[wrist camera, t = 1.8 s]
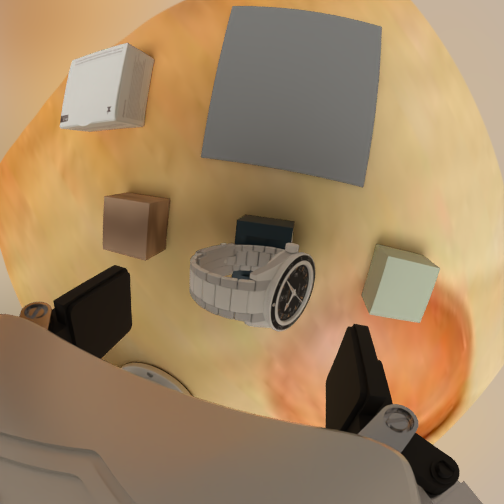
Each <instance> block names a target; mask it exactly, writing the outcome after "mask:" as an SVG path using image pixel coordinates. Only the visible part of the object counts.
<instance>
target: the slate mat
mask: <svg viewBox="0 0 504 504" xmlns="http://www.w3.org/2000/svg"><path fill="white" fill-rule="evenodd" d="M381 32H382V27H380V26H377V25H373V24H369V23H366V22H362V21H358V20H354V19H349V18H345V17H340V16H335V15H330V14H324V13H318V12H312V11H305V10H297V9H287V8H276V7H257V6H233V7H232V10H231V14H230V18H229V22H228V26H227V30H226V34H225V38H224V42H223V46H222V50H221V55H220V59H219V63H218V68H217V73H216V77H215V82H214V87H213V92H212V97H211V102H210V107H209V113H208V118H207V124H206V129H205V135H204V141H203V147H202V153H201V157H202V158H210V159H218V160H225V161H232V162H239V163H246V164H252V165H258V166H264V167H270V168H276V169H281V170H287V171H292V172H297V173H302V174H307V175H312V176H317V177H321V178H326V179H330V180H335V181H339V182H343V183H347V184H352V185H356V186H360V187H363V186H364V181H365V175H366V170H367V164H368V159H369V153H370V146H371V140H372V133H373V126H374V118H375V111H376V102H377V93H378V82H379V70H380V55H381Z"/></svg>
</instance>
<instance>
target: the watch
mask: <svg viewBox="0 0 504 504" xmlns="http://www.w3.org/2000/svg"><path fill="white" fill-rule="evenodd" d="M293 228H294V221H287V220H281V219H274V218H266V217H259V216H252V215H244V216H242V217H241V218H239V219H238V220H237V225H236V236H235V244H233V243H228V244H227V243H221V245H216V246H211V247H207V248H204V249H201V250H198V251H196V254H195V255H194V256H192V258H191V260H190V289H189V290H190V294H191V297H192V298H193V299H194V301H196V303H197V304H198V305H199V306H201V307H202V308H204V309H206V310H207V311H209V312H211V313H213V314H216V315H218V314H219V316H222V317H225V318H229V319H235V320H239V321H245V324H247V325H248V326H253V327H266V328H272V329H274V330H276V331H284V330H286V329H287V328H289V327H290V326H292V325H293V324H294V323H295V322H296V321H297V319H298V318H299V317H300V315H301V314H302V312H303V311H304V309H305V307H306V305H307V303H308V301H309V298H310V296H311V293H312V290H313V286H314V280H315V264H314V261H313V258H312V257H311V256H310V255H309V254H307V253H304V252H298V250H299V245H298V244H295V243H291V242H292V238H293ZM230 274H232V278H231V277H223V276H226V275H230ZM234 314H235V317H234Z"/></svg>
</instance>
